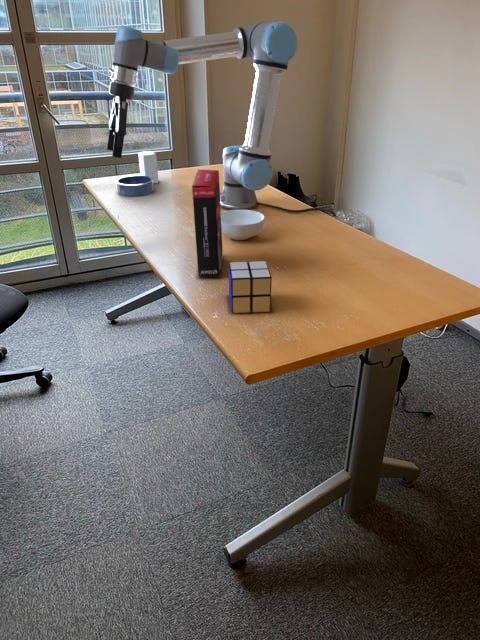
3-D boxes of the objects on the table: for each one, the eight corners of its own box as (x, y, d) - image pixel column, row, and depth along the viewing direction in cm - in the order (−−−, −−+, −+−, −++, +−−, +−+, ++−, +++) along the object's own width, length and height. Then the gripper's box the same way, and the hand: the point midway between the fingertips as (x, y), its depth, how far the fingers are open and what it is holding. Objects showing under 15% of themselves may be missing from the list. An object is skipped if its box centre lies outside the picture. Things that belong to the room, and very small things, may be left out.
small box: (159, 183, 233) (156, 154, 226) (145, 184, 231) (142, 155, 224) (153, 178, 239) (151, 150, 233) (140, 180, 237) (137, 151, 230)
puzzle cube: (229, 295, 137) (228, 262, 131) (265, 294, 137) (266, 260, 132) (231, 314, 128) (231, 278, 123) (270, 312, 129) (271, 277, 124)
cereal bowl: (271, 231, 178) (272, 212, 175) (252, 248, 165) (253, 227, 162) (228, 224, 184) (228, 206, 181) (207, 240, 171) (206, 220, 168)
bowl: (159, 188, 226) (158, 176, 223) (143, 198, 213) (142, 186, 210) (128, 185, 230) (126, 174, 228) (110, 195, 217) (109, 183, 215)
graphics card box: (220, 279, 145) (217, 185, 132) (196, 279, 146) (191, 185, 132) (222, 255, 160) (220, 168, 146) (201, 255, 160) (196, 168, 146)
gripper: (105, 78, 165) (97, 145, 173) (116, 82, 144) (106, 158, 152) (128, 84, 168) (119, 149, 176) (142, 89, 147) (131, 162, 155)
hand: (113, 153), depth 164 cm, fingers open, 13 cm apart
